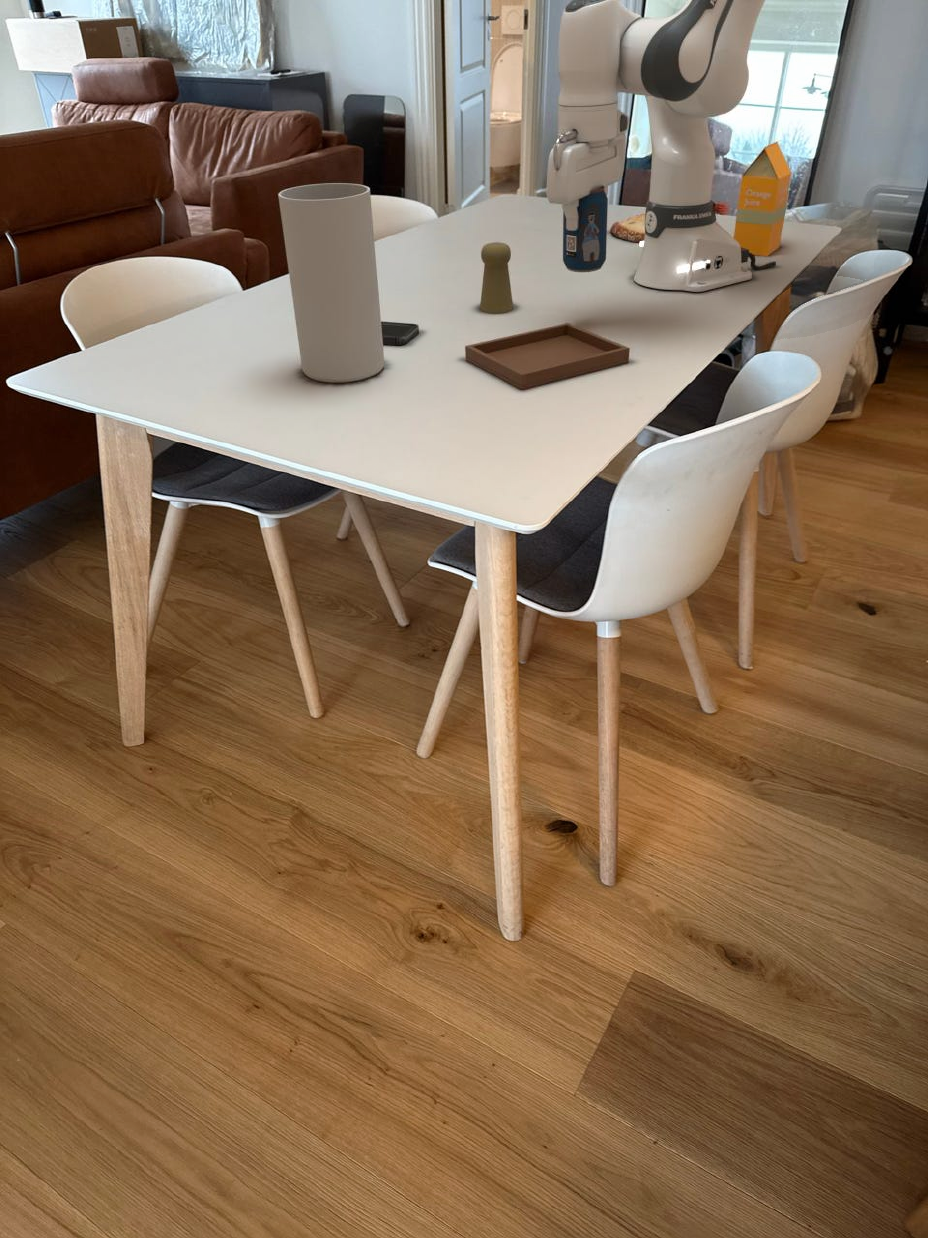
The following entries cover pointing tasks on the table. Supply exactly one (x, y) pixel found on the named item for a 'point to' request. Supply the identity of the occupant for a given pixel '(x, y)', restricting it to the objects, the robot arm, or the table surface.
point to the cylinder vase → (333, 280)
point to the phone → (398, 332)
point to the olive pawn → (496, 279)
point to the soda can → (587, 234)
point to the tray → (546, 355)
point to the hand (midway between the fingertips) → (585, 223)
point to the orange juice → (763, 202)
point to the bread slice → (630, 229)
